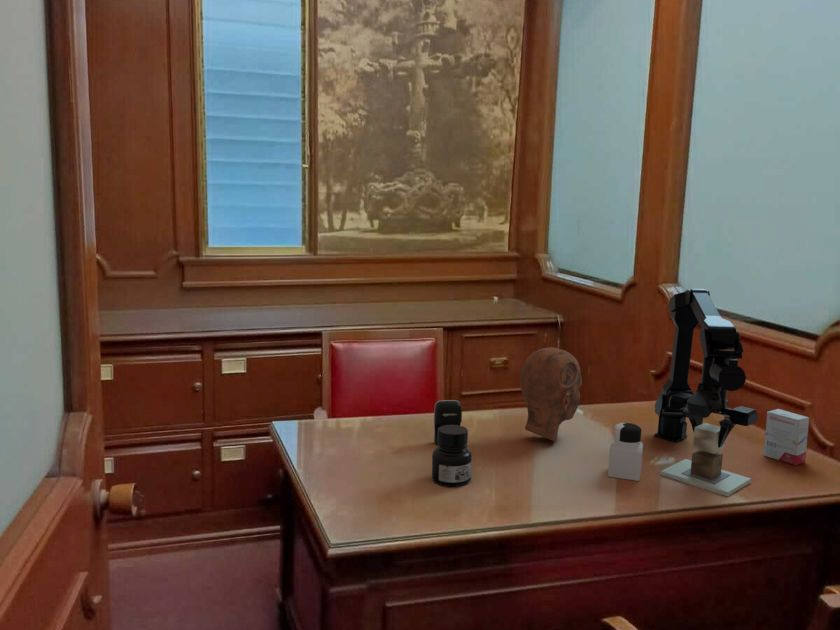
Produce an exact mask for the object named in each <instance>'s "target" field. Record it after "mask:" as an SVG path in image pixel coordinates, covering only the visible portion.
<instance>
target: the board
mask: <svg viewBox="0 0 840 630" xmlns="http://www.w3.org/2000/svg"><path fill="white" fill-rule="evenodd" d="M691 462H692V459H687V458H684V459H682V460H681V461H679V462H676V463H675V464H673V465H671V466H669V467H666V468H665V469H662V470H661V472H660V475H661V476H663V477H667V478H669V479H672V480H675V481H679V482H682V483H685V484H687V485H691V486H693V487H697V488H700V489H703V490H706V491H709V492H712V493H715V494H719V495H721V496H725V497H729V496H730V495H732V494H734V493H736V492H737V491H739V490H741V489H742V488H744V487H746V486H747V485H749V484H751V482H752V478H751V477H747V476H743V475H741V474H738V473H734V472H731V471H727V470H724V469H721V474H720V475H719V476H717V477H715V478H713V479H712V480H710V479H707V478H704V477H701V476H698V475H694V474H691Z"/></svg>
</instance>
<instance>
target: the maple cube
mask: <svg viewBox="0 0 840 630" xmlns="http://www.w3.org/2000/svg"><path fill="white" fill-rule="evenodd" d="M719 433H720V425H719V426H717V425H715V424H711V423H706V422H703V424H701V425H699V426H696V427H695V430H694V432H693V443H692V448H693V449H696V450H702V451H705V452H709V453H712V454H714V453H716V452H718V453H719V452H720V451H722V450H724V448H725V442H724V443H723V445H722V447H720V448H719V447H718V439H719Z"/></svg>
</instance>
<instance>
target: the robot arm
mask: <svg viewBox="0 0 840 630" xmlns="http://www.w3.org/2000/svg"><path fill="white" fill-rule="evenodd" d="M668 311H669V317H670V318H671V320H672V322H673V324H674V334H673V343H672V353H671V360H670V361H671V362H670V370H669V378H668V379H667V381H666V382H665V383H664V384H663V385H662V386H661V392H660V393H661V394H659V396H658V397H657V400H656V401H655V404H654V413H655V414H656V415H657V416H658V425H657V432H656V433H654V437H658V438H661V439H665V440H667V441H670V442H674V443H677V442H679V441H682V440H684V439H686V438H687V437H688V435H687V429H688V423H687V419H688V420H689V422H690V425H691V429H692V432H693V433H694V430H695V427H696V426H699V425H701V424H703V423H704V419H706V418H709V417H710V416H711V415H712V414H715V415H722V416H723V419H721V420H718V423H719V427H720V433H719V439H718V447H719V448H720V447H722V445H723V443H724V444H725V441H726V440H727V438H728V436H729V435H730V433H731V432H732V430H733V429H734V427H735V426H736V425H740V426H741V427H742V426H743V427H748V426H750V425H753V424H755V423H757V422H758V416H759V413H758V411H757V410H756V408H755V409H754V408H751V407H746V406H742V405H740V406H736V407H735V408H731V407H727V406H728V405H729V402H730V401H729V400H728V399H727V397H728V391H729V392H735V391H738V390H740V389H741V388H742V387H743V386H744V384H745V383H746V380H747V375H746V372H745V371H744V369H743V368H742V367H741V366H739V360H741V359H743V353H744V348H743V344H742V340H741V336H740V334H739V331H738V329H737V328H736V326H735V325H734V324H733V323H732V322H731V321H730V320H727V319H724V318H723V317H722V316H721V314H720V313H719V311H718V309H717V307H716V305H715V304H714V302H713V300H712V298H711V292H710V290H708V289H706V288H689V289H686V290H685V291H683V292H682V291H681V292H679V293H676V294H674V295H673V296H672V297H670V299H669V302H668ZM698 325H700V328H701V330H700V331H699V342H700V347H701V350H702V354H703V360H702V369H701V370H702V372H701V381H700V382H698V384H697V389H696V391H695V392H693V390H692V388H691V387H690V385H689V374H690V364H691V357H692V348H693V339H694V332H695V331H694V330H695V329H696V328H697V327H698ZM738 359H739V360H738Z"/></svg>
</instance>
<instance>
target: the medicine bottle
mask: <svg viewBox="0 0 840 630" xmlns="http://www.w3.org/2000/svg"><path fill="white" fill-rule="evenodd" d="M613 430H614V432H613V434H614V435H613V439H612V440H611V445H610V447H609V455H608V459H609V460H608V469H607V477H609V478H615V479H623V480H629V481H635V482H639V481H640V479H641V473H642V461H643V453H644V452H643V451H644V443H643V442H641V438H642V428H641V427H640V425H637V424H635V423H631V422H621V423H617V424H615V426H614V429H613Z"/></svg>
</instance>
